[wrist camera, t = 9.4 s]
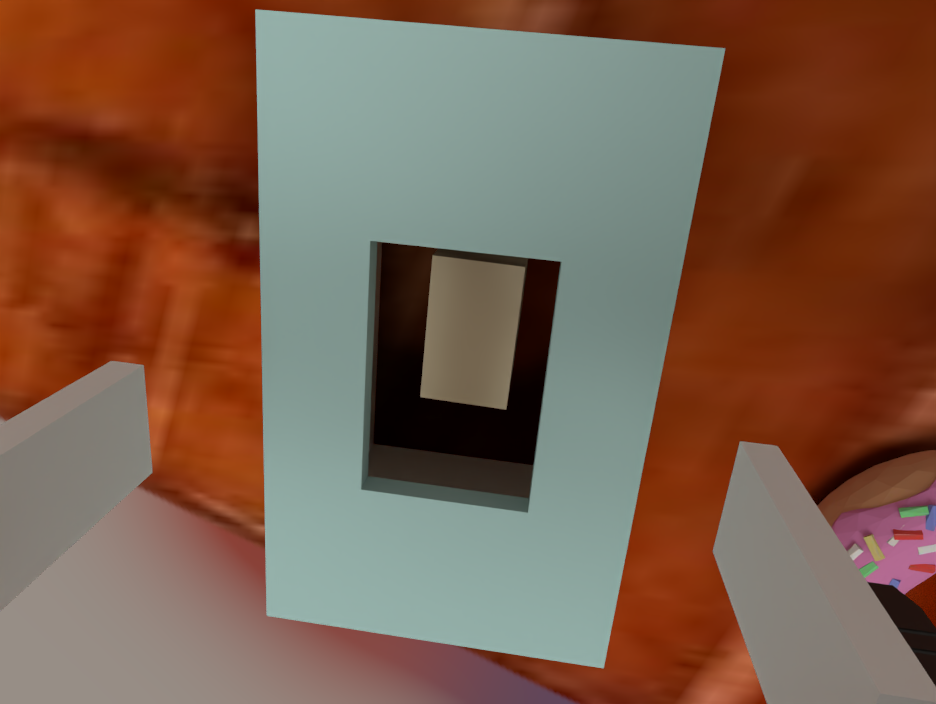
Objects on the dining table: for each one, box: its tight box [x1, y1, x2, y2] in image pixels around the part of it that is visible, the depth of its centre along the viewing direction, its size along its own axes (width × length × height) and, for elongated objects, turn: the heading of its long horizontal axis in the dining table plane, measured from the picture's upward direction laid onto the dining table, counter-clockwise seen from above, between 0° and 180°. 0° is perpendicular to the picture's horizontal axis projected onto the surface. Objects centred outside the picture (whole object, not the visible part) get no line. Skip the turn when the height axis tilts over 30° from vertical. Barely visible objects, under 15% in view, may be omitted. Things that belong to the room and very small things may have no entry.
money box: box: [255, 9, 725, 668], centre depth 24 cm, size 11×18×11 cm, turn 175°
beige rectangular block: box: [420, 248, 529, 410], centre depth 26 cm, size 3×5×7 cm, turn 174°
